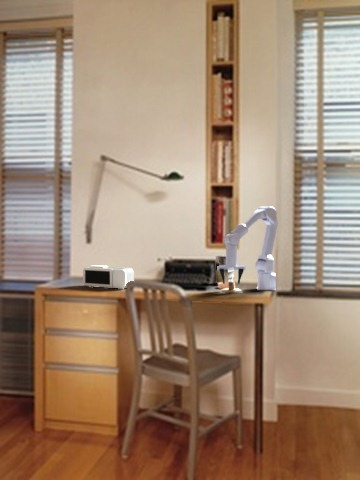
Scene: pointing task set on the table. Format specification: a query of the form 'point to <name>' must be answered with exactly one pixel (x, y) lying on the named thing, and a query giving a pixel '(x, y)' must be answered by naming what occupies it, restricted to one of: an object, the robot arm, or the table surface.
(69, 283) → the table surface
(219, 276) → the coffee box
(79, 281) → the table surface
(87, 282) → the alarm clock
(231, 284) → the lid
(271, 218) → the robot arm
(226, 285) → the bowl
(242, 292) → the mat
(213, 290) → the table surface
